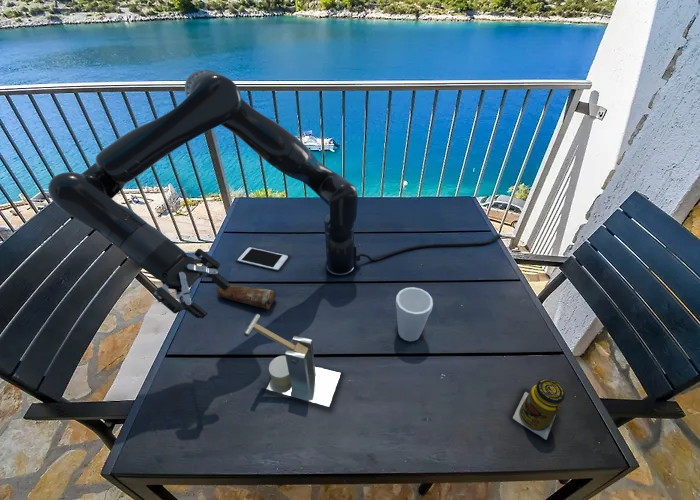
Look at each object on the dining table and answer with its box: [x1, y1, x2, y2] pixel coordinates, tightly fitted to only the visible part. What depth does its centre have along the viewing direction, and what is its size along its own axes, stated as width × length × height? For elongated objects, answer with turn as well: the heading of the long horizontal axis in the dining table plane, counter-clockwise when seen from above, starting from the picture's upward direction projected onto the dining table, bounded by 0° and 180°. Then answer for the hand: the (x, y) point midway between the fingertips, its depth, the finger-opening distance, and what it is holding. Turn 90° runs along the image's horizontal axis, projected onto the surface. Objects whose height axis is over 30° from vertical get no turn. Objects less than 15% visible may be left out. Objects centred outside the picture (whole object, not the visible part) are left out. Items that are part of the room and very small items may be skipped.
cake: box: [268, 355, 291, 386], centre depth 85 cm, size 6×6×4 cm
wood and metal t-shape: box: [243, 313, 308, 355], centre depth 77 cm, size 14×6×2 cm, turn 73°
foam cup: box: [395, 286, 434, 342], centre depth 94 cm, size 10×9×13 cm
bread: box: [216, 284, 277, 310], centre depth 106 cm, size 6×19×6 cm, turn 72°
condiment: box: [512, 378, 566, 441], centre depth 76 cm, size 7×8×12 cm
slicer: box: [266, 335, 341, 408], centre depth 81 cm, size 16×9×15 cm, turn 74°
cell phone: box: [237, 246, 289, 271], centre depth 123 cm, size 8×16×1 cm, turn 71°
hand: (216, 301), depth 75 cm, fingers open, 8 cm apart
